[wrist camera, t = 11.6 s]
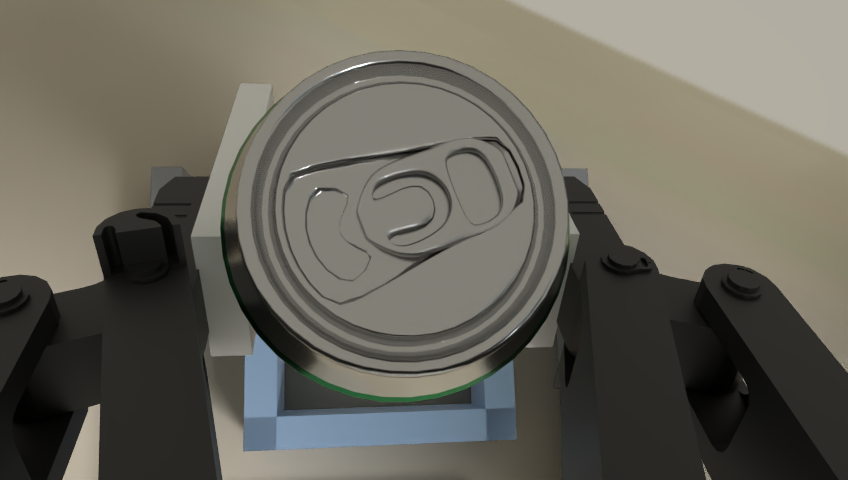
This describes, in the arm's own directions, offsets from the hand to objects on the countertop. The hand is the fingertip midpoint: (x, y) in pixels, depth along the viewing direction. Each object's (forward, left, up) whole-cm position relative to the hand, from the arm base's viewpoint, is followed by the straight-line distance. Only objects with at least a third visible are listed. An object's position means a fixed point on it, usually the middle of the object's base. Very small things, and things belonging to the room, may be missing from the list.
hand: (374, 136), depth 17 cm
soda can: (0, +4, -4) cm, 6 cm away
